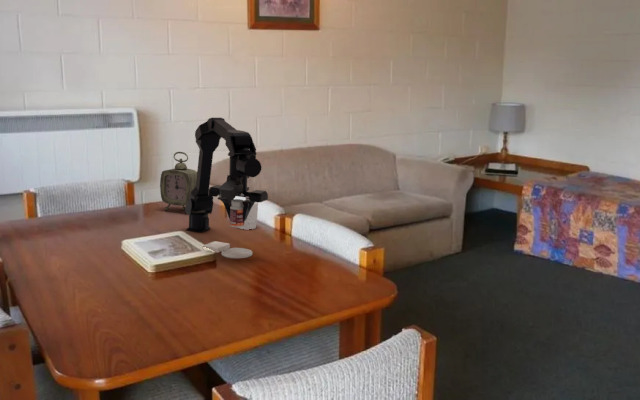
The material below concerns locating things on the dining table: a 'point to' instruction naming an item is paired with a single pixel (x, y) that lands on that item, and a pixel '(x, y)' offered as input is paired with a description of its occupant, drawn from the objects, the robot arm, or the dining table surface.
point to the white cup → (251, 218)
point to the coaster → (236, 253)
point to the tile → (217, 246)
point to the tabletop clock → (177, 184)
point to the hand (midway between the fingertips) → (237, 219)
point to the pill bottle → (236, 213)
